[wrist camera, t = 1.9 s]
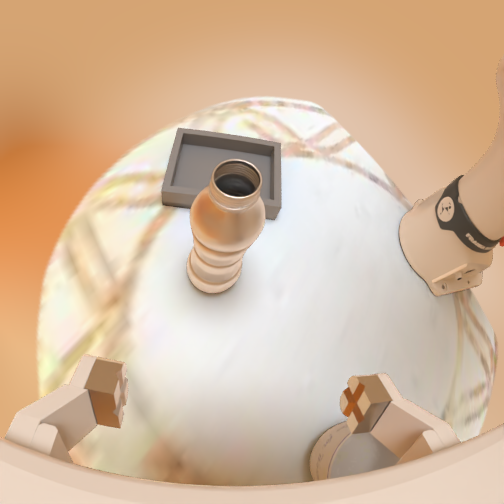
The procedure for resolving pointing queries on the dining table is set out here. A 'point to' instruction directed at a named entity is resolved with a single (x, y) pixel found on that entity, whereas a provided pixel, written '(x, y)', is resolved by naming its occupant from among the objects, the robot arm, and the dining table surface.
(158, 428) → the dining table surface
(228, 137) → the tray
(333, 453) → the teacup
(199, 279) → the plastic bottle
